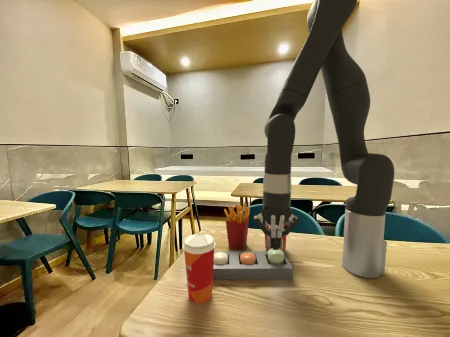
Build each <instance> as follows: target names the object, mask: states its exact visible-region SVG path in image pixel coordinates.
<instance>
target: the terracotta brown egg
mask: <svg viewBox="0 0 450 337" xmlns="http://www.w3.org/2000/svg"><path fill="white" fill-rule="evenodd" d="M248 264H256V256H255V255H254V254H253V253H249V252H245V253H242V254H241V255H240V264H239V265H248Z"/></svg>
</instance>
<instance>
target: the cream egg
mask: <svg viewBox="0 0 450 337" xmlns="http://www.w3.org/2000/svg"><path fill="white" fill-rule="evenodd" d="M214 265H229V264H228V255H227V254H226V253H223V252H218V253H215V254H214Z"/></svg>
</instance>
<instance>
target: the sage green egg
mask: <svg viewBox="0 0 450 337" xmlns="http://www.w3.org/2000/svg"><path fill="white" fill-rule="evenodd" d="M267 251H268V263H269V264H284V253H285V252H284V253H283V251H281V250H279V249H278V250H273V249H270V250H267Z"/></svg>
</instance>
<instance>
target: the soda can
mask: <svg viewBox="0 0 450 337" xmlns="http://www.w3.org/2000/svg"><path fill="white" fill-rule="evenodd" d="M264 220H265V219H264ZM286 224H287V222H286V223H285V224H284V225H283V227H284V226H285V225H286ZM264 226H265V227H266V228H267V229H269V224H268V223H267V222H266V220H265V221H264ZM275 234H276V233H275ZM264 247H265V249H266V251H269V250H270V249H272V248H271V246H270V236H266V235H265V234H264ZM286 247H287V236H285V235H284V236H282V237H281V247H280V248H279V250H281V251H284V252H285V250H286Z"/></svg>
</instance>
